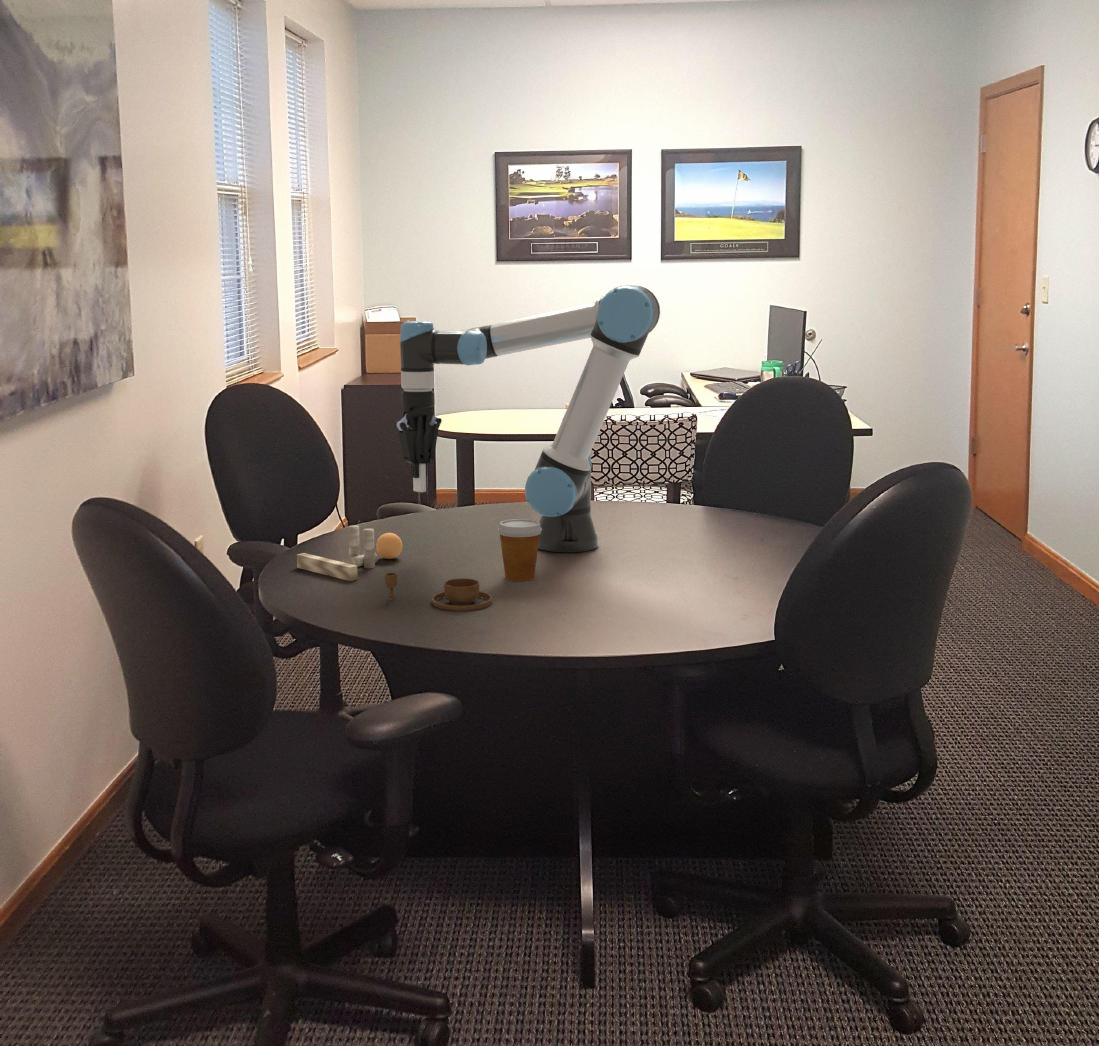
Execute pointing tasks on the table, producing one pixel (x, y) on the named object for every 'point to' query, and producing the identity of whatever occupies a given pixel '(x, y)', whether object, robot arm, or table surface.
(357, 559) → the front pin
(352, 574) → the white marbled bar
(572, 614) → the table surface
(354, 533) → the back pin right
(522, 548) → the disposable coffee cup
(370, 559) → the back pin left
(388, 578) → the place setting
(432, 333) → the robot arm
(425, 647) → the table surface
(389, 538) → the ball
